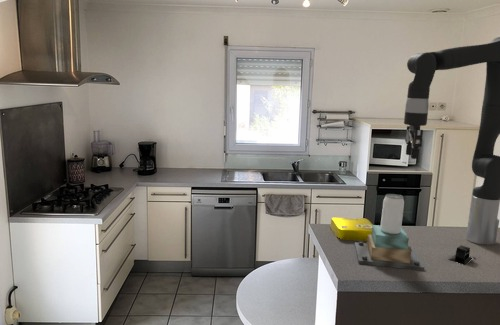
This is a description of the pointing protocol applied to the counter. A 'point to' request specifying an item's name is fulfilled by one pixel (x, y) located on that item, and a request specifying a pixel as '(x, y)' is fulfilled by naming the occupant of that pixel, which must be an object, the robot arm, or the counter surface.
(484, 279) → the counter surface
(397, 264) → the brick tower
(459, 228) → the counter surface
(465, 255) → the black slotted housing
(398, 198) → the can
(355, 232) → the element tile
